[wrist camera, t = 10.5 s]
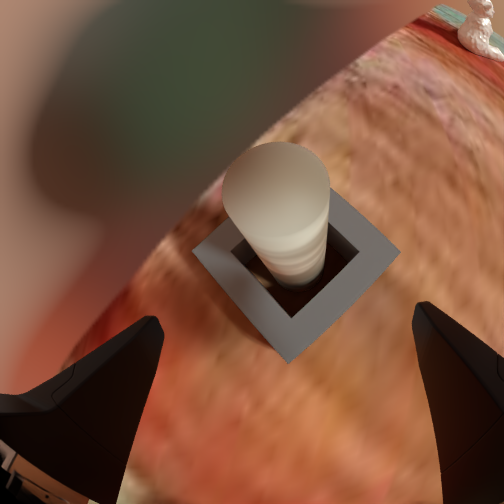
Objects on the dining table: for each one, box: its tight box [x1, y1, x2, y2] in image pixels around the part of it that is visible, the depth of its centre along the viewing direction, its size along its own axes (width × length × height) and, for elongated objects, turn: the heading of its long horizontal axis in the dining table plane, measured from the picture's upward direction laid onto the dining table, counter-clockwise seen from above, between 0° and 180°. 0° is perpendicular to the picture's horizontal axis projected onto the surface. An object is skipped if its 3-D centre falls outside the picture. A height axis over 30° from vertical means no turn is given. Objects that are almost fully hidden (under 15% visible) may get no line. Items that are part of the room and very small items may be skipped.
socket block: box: [192, 187, 401, 364], centre depth 20 cm, size 10×10×4 cm
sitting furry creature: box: [457, 0, 504, 62], centre depth 19 cm, size 10×9×12 cm
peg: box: [222, 142, 330, 292], centre depth 16 cm, size 4×4×12 cm
